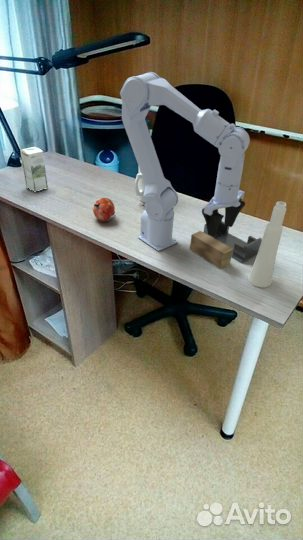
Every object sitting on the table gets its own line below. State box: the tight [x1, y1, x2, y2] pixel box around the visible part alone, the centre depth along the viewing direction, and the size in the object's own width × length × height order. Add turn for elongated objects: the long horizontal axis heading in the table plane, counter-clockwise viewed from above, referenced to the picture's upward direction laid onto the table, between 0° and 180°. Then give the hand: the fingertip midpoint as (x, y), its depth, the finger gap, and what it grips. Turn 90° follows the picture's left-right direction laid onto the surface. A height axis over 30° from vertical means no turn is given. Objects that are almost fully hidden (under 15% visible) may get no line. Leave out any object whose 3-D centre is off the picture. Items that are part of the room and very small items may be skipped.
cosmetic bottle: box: [247, 201, 287, 289], centre depth 85 cm, size 6×6×22 cm
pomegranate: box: [92, 197, 116, 223], centre depth 113 cm, size 7×7×10 cm
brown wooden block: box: [189, 230, 233, 269], centre depth 98 cm, size 12×4×5 cm, turn 40°
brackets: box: [203, 219, 262, 264], centre depth 103 cm, size 16×8×5 cm, turn 40°
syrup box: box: [19, 146, 49, 192], centre depth 127 cm, size 6×6×14 cm
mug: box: [134, 167, 146, 203], centre depth 123 cm, size 10×7×12 cm, turn 139°
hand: (220, 230), depth 94 cm, fingers open, 7 cm apart
